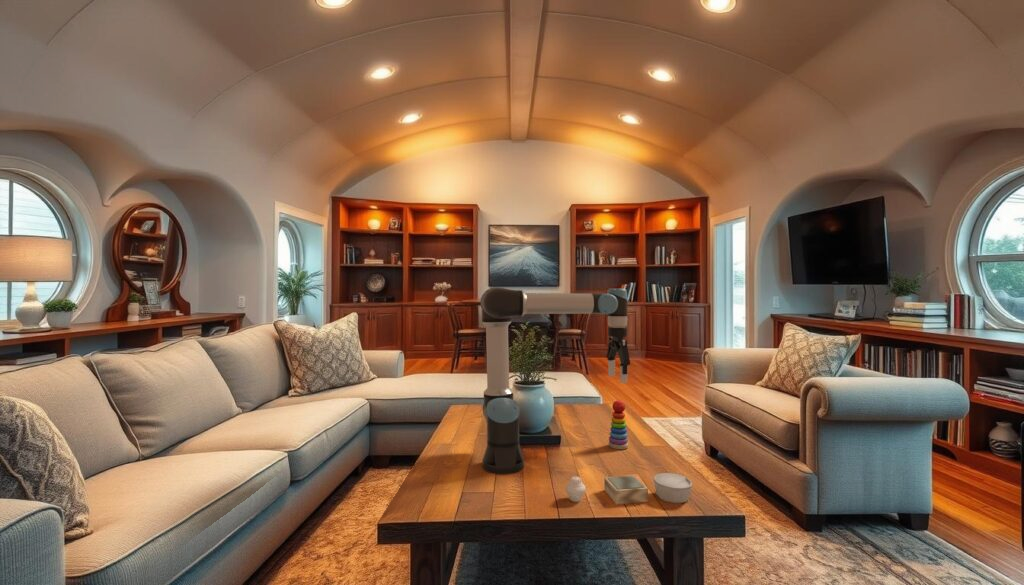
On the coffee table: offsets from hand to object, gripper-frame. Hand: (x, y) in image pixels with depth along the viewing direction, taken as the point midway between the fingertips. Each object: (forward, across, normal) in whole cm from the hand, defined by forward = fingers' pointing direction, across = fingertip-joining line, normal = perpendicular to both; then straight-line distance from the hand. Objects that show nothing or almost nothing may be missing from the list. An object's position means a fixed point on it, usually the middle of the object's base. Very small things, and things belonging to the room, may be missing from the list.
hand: (617, 379), depth 188 cm
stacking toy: (+28, 0, -1) cm, 28 cm away
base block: (+28, -43, +14) cm, 53 cm away
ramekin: (+28, -46, 0) cm, 53 cm away
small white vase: (+28, -43, +30) cm, 59 cm away
